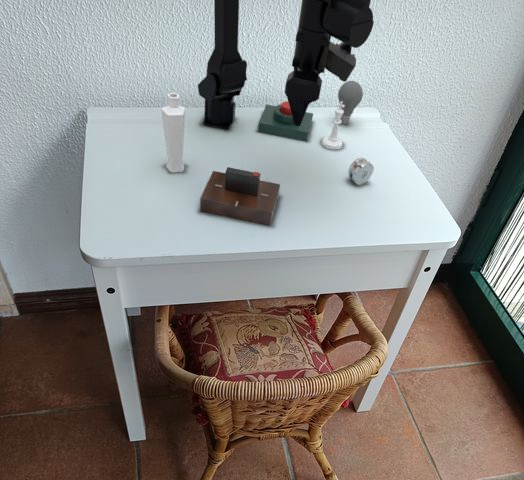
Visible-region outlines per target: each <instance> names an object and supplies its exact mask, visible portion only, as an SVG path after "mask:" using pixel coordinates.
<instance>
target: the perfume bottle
mask: <svg viewBox="0 0 524 480" xmlns="http://www.w3.org/2000/svg"><path fill="white" fill-rule="evenodd" d="M179 97H180V94H178V93H175V92H170V93H168V94H167V99H168V105H165V106H164V107H161V116H162V117H161V118H162V126H163V133H164V142H165V148H166V150H165V151H166V158H167V161H166V166H165V167H166V169H167V170H168V171H169V172H170V173H173V174H174V173H183V172H184V169H185V163H184V160H183V159H184V140H185V121H186V119H185V118H186V107H184V106H182V105H180V104H179Z"/></svg>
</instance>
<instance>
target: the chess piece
mask: <svg viewBox="0 0 524 480" xmlns="http://www.w3.org/2000/svg"><path fill="white" fill-rule="evenodd" d="M344 106H345V105H342V102H340V103H337V104H336V107H338V108H336V109H335V110H334V114H335V115H334V116H335V118H333V119H332V123H333V127H332V129H331V132H330V135H326V136H324V137H323V138H322V140H321V145H322V146H323V147H324V148H327V149H329V150H339V149H342V147H343V141H342V140H341V139H340V138H339V137H338V133H339V125H341V124H343V123H342V121H341V120H340V118H341V116H342V115H343V113H344V111H343V110H342V109H341V107H342V108H344Z"/></svg>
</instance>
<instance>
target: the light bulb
mask: <svg viewBox="0 0 524 480" xmlns="http://www.w3.org/2000/svg"><path fill="white" fill-rule="evenodd" d="M363 96H364V91H363V88H362V85H361V84H360V83H359V82H357V81H355V80H347V81H346V82H344V83H343V84H342V85H341V86H340V87H339V89H338V92H337V100H338V104H340V102H342V105H345V106H344V108H342V107H341V109H342V110H343V111H344V113H343V115H342V116H341V118H340V120H341V121H342V123H341V124H343V125H345V124H349V123H350V119H351V116H352V114H354V110H356V108H357V107H358V105H360V104H361V102H362V100H363Z"/></svg>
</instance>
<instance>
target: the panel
mask: <svg viewBox="0 0 524 480" xmlns="http://www.w3.org/2000/svg"><path fill="white" fill-rule="evenodd" d="M225 174H226V172H221V171H215V170H213V171H212V172H211V174H210V176H209V179H208V181H207V183H206V185H205V187H204V189H203V192H202V194H201V195H200V198H199V199H200V205H199V209H200V210H199V211H200V212H201V213H207V214H210V215H211V214H212V215H217V216H222V217H227V218H231V219H236V220H240V221H241V220H242V221H246V222H252V223H256V224H261V225H266V226H271V224H272V221H273V217H274V215H275V210H276V207H277V203H278V199H279V194H280V188H281V184H280V183H275V182H271V181H266V180H262V179H260V183H259V191H258V194H257V196H254V195H249V194H244V193H239V192H234V191H229V190H225Z"/></svg>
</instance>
